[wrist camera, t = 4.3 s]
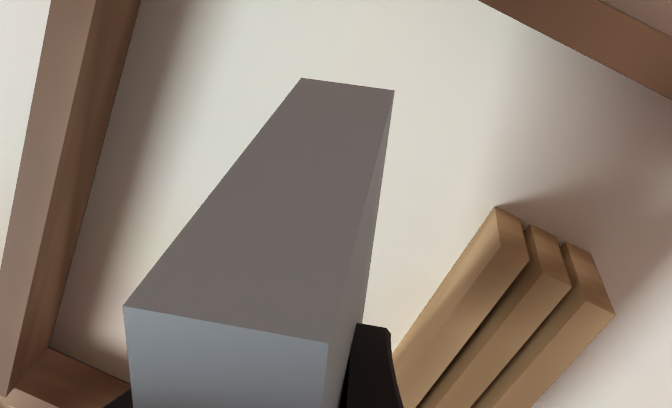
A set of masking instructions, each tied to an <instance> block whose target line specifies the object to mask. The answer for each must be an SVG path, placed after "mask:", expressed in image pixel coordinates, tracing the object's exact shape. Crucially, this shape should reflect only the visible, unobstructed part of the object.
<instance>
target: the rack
mask: <svg viewBox="0 0 672 408" xmlns="http://www.w3.org/2000/svg"><path fill="white" fill-rule="evenodd" d="M140 1H141V0H51V4H50V10H49V15H48V20H47V25H46V31H45V36H44V41H43V47H42V52H41V57H40V63H39V68H38V73H37V78H36V84H35V89H34V94H33V100H32V105H31V110H30V116H29V121H28V126H27V131H26V137H25V142H24V147H23V153H22V158H21V163H20V169H19V174H18V179H17V184H16V190H15V195H14V200H13V206H12V211H11V216H10V222H9V227H8V232H7V237H6V243H5V248H4V253H3V259H2V264H1V269H0V401H2V402H4V403H6V404H9V405H11V406H13V407H15V408H102V407H104V406H105V405H107V404H108V403H109V402H111V401H112V400H114V399H115V398H117V397H118V396H119V395H121V394H122V393H124V392H125V391H126V390H128V389H129V388H130V387H131V385H130V384H127V383H125V382H123V381H121V380H119V379H116V378H114V377H112V376H110V375H107V374H105V373H103V372H101V371H99V370H96V369H94V368H92V367H90V366H88V365H85V364H83V363H81V362H79V361H77V360H74V359H72V358H70V357H68V356H65V355H63V354H61V353H59V352H57V351H54V350H52V349H50V348H48V347H49V344H50V340H51V336H52V332H53V328H54V325H55V321H56V317H57V313H58V310H59V306H60V302H61V298H62V295H63V291H64V287H65V283H66V279H67V276H68V272H69V268H70V264H71V261H72V257H73V253H74V249H75V246H76V242H77V238H78V234H79V231H80V227H81V223H82V219H83V215H84V212H85V208H86V204H87V200H88V197H89V193H90V189H91V185H92V182H93V178H94V174H95V170H96V167H97V163H98V159H99V155H100V151H101V148H102V144H103V140H104V136H105V133H106V129H107V125H108V121H109V118H110V114H111V110H112V106H113V103H114V99H115V95H116V91H117V87H118V84H119V80H120V76H121V72H122V69H123V65H124V61H125V57H126V54H127V50H128V46H129V42H130V38H131V35H132V31H133V27H134V23H135V20H136V16H137V12H138V8H139V5H140ZM479 1H481V2H483V3H484V4H486V5H488V6H490V7H492V8H494V9H496V10H498V11H500V12H502V13H504V14H506V15H508V16H510V17H512V18H514V19H516V20H517V21H519V22H521V23H523V24H525V25H527V26H529V27H531V28H533V29H535V30H537V31H539V32H541V33H543V34H545V35H547V36H549V37H550V38H552V39H554V40H556V41H558V42H560V43H562V44H564V45H566V46H568V47H570V48H572V49H574V50H576V51H578V52H580V53H581V54H583V55H585V56H587V57H589V58H591V59H593V60H595V61H597V62H599V63H601V64H603V65H605V66H607V67H609V68H611V69H613V70H614V71H616V72H618V73H620V74H622V75H624V76H626V77H628V78H630V79H632V80H634V81H636V82H638V83H640V84H642V85H644V86H646V87H647V88H649V89H651V90H653V91H655V92H657V93H659V94H661V95H663V96H665V97H667V98H669V99H671V100H672V38H671V37H669V36H667V35H665V34H663V33H661V32H659V31H657V30H656V29H654V28H652V27H650V26H648V25H646V24H644V23H642V22H640V21H638V20H636V19H635V18H633V17H631V16H629V15H627V14H625V13H623V12H621V11H619V10H617V9H615V8H614V7H612V6H610V5H608V4H606V3H604V2H602V1H600V0H479Z"/></svg>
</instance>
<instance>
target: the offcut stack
mask: <svg viewBox="0 0 672 408" xmlns="http://www.w3.org/2000/svg"><path fill="white" fill-rule="evenodd" d="M614 316H615V312H614V310H613V307H612V305H611V302H610V300H609V297H608V295H607V293H606V290H605V288H604V285H603V283H602V280H601V278H600V275H599V273H598V270H597V268H596V265H595V263H594V260H593V258H592V256H591V254H590V253H588V252H586V251H584V250H582V249H580V248H578V247H576V246H574V245H572V244H570V243H567V242H565V243H564V244H563V246H562V247H561V248H560V249H559V246H558V242H557V239H556V237H555V236H553V235H551V234H549V233H547V232H545V231H543V230H541V229H539V228H537V227H535V226H533V225H531V224H530V225H529V227H528V228H527V229H526V231H525V232H524V233H523V230H522V225H521V221H520V219H519V218H517V217H515V216H513V215H511V214H509V213H507V212H505V211H502V210H500V209H498V208H496V207H494V208H493V210H492V211H491V212H490V214H489V215H488V217H487V218H486V220H485V221H484V223H483V224H482V225H481V227H480V228H479V230H478V231H477V233H476V234H475V235H474V237H473V238H472V240H471V241H470V243H469V244H468V246H467V247H466V248H465V250H464V251H463V253H462V254H461V256H460V257H459V259H458V260H457V261H456V263H455V264H454V266H453V267H452V269H451V270H450V272H449V273H448V274H447V276H446V277H445V279H444V280H443V282H442V283H441V285H440V286H439V287H438V289H437V290H436V292H435V293H434V295H433V296H432V298H431V299H430V300H429V302H428V303H427V305H426V306H425V308H424V309H423V311H422V312H421V313H420V315H419V316H418V318H417V319H416V321H415V322H414V323H413V325H412V326H411V328H410V329H409V331H408V332H407V334H406V335H405V336H404V338H403V339H402V341H401V342H400V344H399V345H398V347H397V348H396V349H395V351H394V352H393V354H392V359H393V365H394V370H395V375H396V380H397V384H398V388H399V392H400V396H401V399H402V403H403V407H404V408H530V407H531V406H532V405H533V404H534V403H535V402H536V401H537V399H538V398H539V397H540V396H541V395H542V394H543V393H544V392H545V391H546V390H547V389H548V388H549V386H550V385H551V384H552V383H553V382H554V381H555V380H556V379H557V378H558V377H559V376H560V375H561V373H562V372H563V371H564V370H565V369H566V368H567V367H568V366H569V365H570V364H571V363H572V362H573V360H574V359H575V358H576V357H577V356H578V355H579V354H580V353H581V352H582V351H583V350H584V349H585V347H586V346H587V345H588V344H589V343H590V342H591V341H592V340H593V339H594V338H595V337H596V336H597V334H598V333H599V332H600V331H601V330H602V329H603V328H604V327H605V326H606V325H607V324H608V323H609V321H610V320H611V319H612V318H613V317H614Z"/></svg>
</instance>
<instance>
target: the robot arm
mask: <svg viewBox="0 0 672 408" xmlns="http://www.w3.org/2000/svg"><path fill="white" fill-rule="evenodd" d="M102 408H133V401H132V391H131V387H130V388H129V389H128V390H126V391H125V392H124V393H122V394H121V395H119V396H118V397H117V398H115V399H114V400H112V401H111V402H109V403H108V404H107V405H105V406H104V407H102ZM343 408H404V407H403V403H402V399H401V396H400V392H399V388H398V384H397V380H396V375H395V370H394V365H393V359H392V351H391V333H390V332H389V331H388V330H387V328H383V327H377V326H372V325H366V324H360V323H357V324H356V328H355V332H354V336H353V340H352V344H351V349H350V356H349V364H348V371H347V379H346V386H345V394H344V401H343Z"/></svg>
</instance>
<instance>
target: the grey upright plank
mask: <svg viewBox="0 0 672 408" xmlns="http://www.w3.org/2000/svg"><path fill="white" fill-rule="evenodd" d="M393 98H394V90H387V89H379V88H372V87H365V86H357V85H350V84H343V83H335V82H328V81H321V80H313V79H306V78H301V79H300V80H299V82H298V83H297V84H296V85H295V87H294V88H293V89H292V91H291V92H290V93H289V94H288V96H287V97H286V98H285V99H284V101H283V102H282V103H281V105H280V106H279V107H278V108H277V110H276V111H275V112H274V114H273V115H272V116H271V117H270V119H269V120H268V121H267V122H266V124H265V125H264V126H263V128H262V129H261V130H260V131H259V133H258V134H257V135H256V136H255V138H254V139H253V140H252V142H251V143H250V144H249V145H248V147H247V148H246V149H245V151H244V152H243V153H242V154H241V156H240V157H239V158H238V159H237V161H236V162H235V163H234V165H233V166H232V167H231V168H230V170H229V171H228V172H227V173H226V175H225V176H224V177H223V179H222V180H221V181H220V182H219V184H218V185H217V186H216V188H215V189H214V190H213V191H212V193H211V194H210V195H209V196H208V198H207V199H206V200H205V202H204V203H203V204H202V205H201V207H200V208H199V209H198V210H197V212H196V213H195V214H194V216H193V217H192V218H191V219H190V221H189V222H188V223H187V225H186V226H185V227H184V228H183V230H182V231H181V232H180V233H179V235H178V236H177V237H176V239H175V240H174V241H173V242H172V244H171V245H170V246H169V247H168V249H167V250H166V251H165V253H164V254H163V255H162V256H161V258H160V259H159V260H158V262H157V263H156V264H155V265H154V267H153V268H152V269H151V270H150V272H149V273H148V274H147V276H146V277H145V278H144V279H143V281H142V282H141V283H140V285H139V286H138V287H137V288H136V290H135V291H134V292H133V293H132V295H131V296H130V297H129V299H128V300H127V301H126V302H125V304H124V305H123V314H124V323H125V333H126V343H127V352H128V362H129V372H130V382H131V391H132V401H133V408H343V401H344V394H345V386H346V379H347V371H348V364H349V356H350V349H351V344H352V340H353V336H354V332H355V328H356V324H357V323H360V324H362V319H363V312H364V305H365V298H366V291H367V284H368V277H369V269H370V262H371V255H372V248H373V241H374V234H375V227H376V219H377V212H378V205H379V198H380V191H381V184H382V177H383V170H384V162H385V155H386V148H387V141H388V134H389V127H390V120H391V112H392V105H393Z"/></svg>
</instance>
